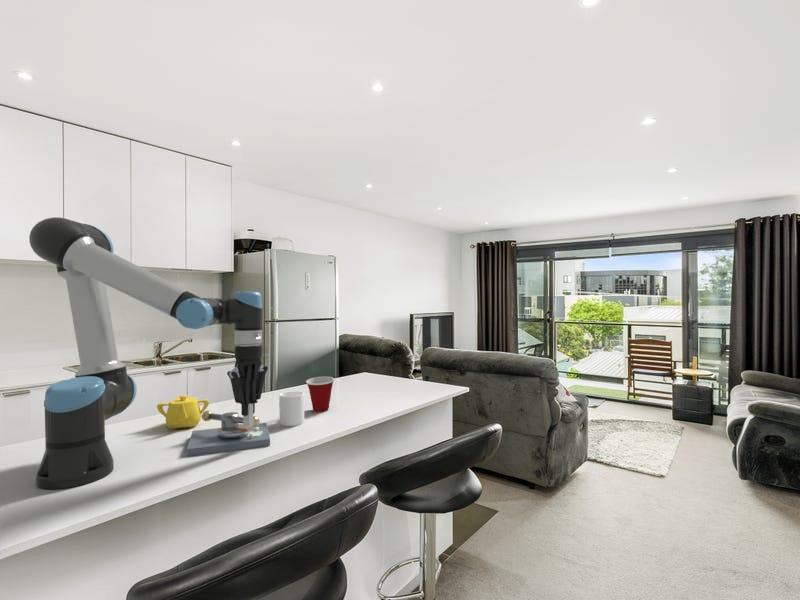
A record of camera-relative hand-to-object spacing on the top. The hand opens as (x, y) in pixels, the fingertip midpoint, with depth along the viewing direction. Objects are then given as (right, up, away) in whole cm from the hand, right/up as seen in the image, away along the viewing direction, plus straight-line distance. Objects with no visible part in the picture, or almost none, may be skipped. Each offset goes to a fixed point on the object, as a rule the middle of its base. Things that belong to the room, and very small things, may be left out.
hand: (248, 425), depth 123 cm
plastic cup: (+14, -6, +40) cm, 43 cm away
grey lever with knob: (-7, -4, +5) cm, 10 cm away
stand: (-7, -6, +5) cm, 11 cm away
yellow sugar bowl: (-30, -7, +21) cm, 37 cm away
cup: (+5, -6, +25) cm, 26 cm away
